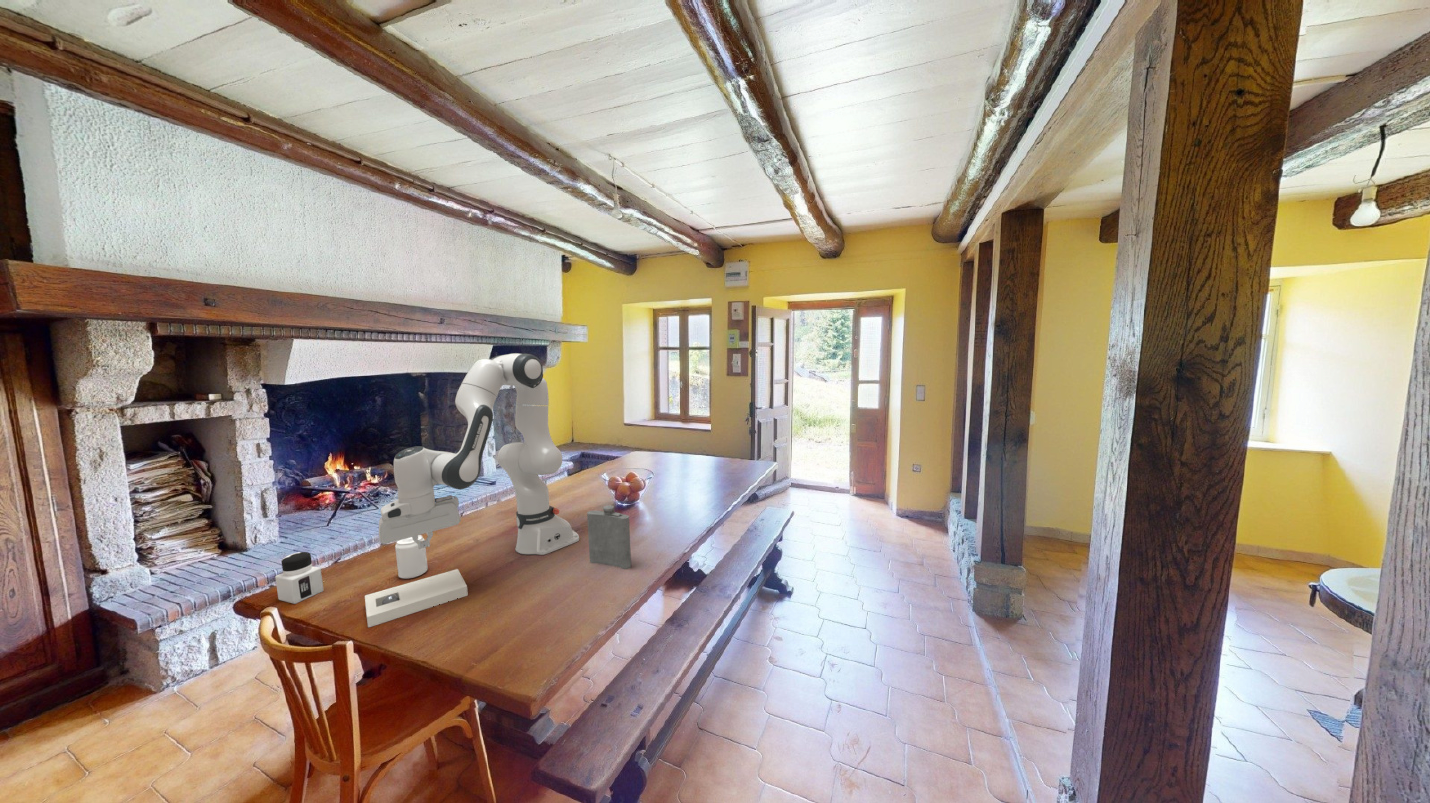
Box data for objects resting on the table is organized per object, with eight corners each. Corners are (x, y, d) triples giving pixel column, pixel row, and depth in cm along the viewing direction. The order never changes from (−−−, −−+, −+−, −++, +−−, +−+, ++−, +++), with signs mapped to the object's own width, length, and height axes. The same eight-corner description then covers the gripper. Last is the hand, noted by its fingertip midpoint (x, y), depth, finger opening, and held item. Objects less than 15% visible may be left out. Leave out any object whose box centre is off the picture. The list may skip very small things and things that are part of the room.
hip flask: (587, 562, 157) (584, 506, 154) (595, 557, 161) (592, 502, 158) (627, 569, 151) (625, 511, 149) (634, 564, 155) (631, 507, 152)
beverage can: (413, 580, 146) (409, 545, 145) (392, 578, 148) (388, 543, 147) (433, 568, 154) (430, 534, 153) (413, 566, 156) (409, 533, 154)
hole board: (458, 577, 148) (457, 568, 148) (467, 595, 137) (466, 585, 137) (365, 605, 133) (364, 595, 133) (368, 627, 122) (366, 617, 122)
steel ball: (388, 608, 132) (401, 597, 134) (389, 614, 129) (402, 603, 131) (378, 600, 131) (391, 589, 132) (378, 606, 128) (392, 594, 129)
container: (324, 590, 141) (318, 551, 140) (294, 604, 134) (288, 562, 133) (308, 587, 144) (302, 547, 142) (278, 600, 137) (271, 559, 135)
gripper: (455, 491, 142) (461, 532, 144) (374, 509, 129) (382, 554, 132) (459, 496, 137) (465, 539, 139) (375, 516, 124) (383, 563, 127)
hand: (424, 547), depth 135 cm, fingers closed
